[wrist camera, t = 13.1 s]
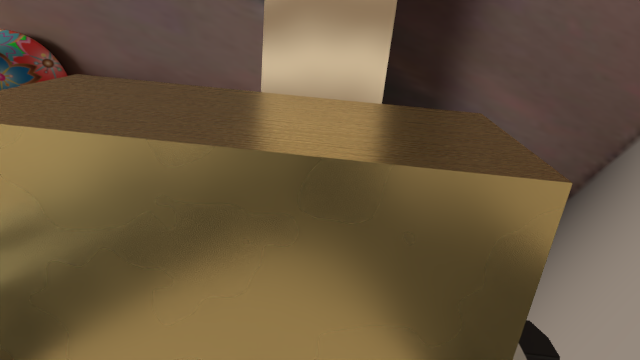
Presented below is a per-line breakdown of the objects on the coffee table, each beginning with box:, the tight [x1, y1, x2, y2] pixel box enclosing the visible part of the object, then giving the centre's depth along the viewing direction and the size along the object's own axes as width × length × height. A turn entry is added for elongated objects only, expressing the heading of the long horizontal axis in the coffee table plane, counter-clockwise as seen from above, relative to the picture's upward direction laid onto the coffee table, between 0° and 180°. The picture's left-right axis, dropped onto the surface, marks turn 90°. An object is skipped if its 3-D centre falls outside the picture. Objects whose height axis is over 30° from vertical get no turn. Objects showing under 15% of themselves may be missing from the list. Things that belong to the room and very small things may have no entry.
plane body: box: [261, 0, 397, 104], centre depth 23 cm, size 24×7×8 cm, turn 175°
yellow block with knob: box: [0, 74, 572, 360], centre depth 9 cm, size 10×9×5 cm
